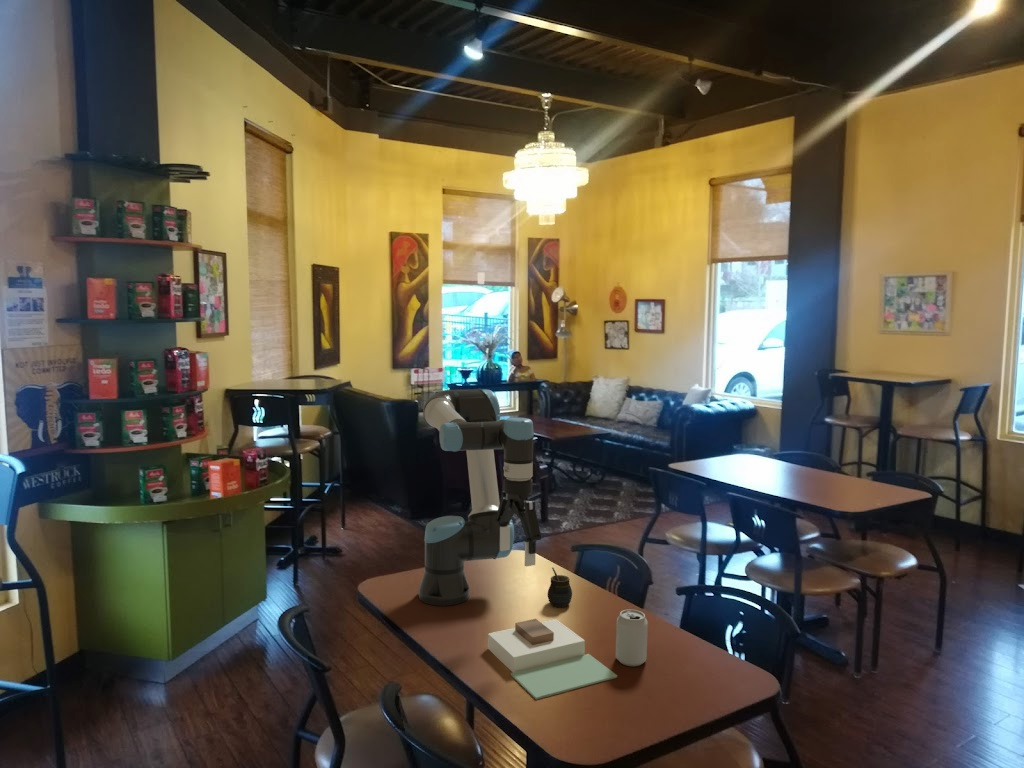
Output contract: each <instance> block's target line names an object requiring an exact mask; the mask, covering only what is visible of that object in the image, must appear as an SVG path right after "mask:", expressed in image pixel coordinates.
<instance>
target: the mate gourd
mask: <svg viewBox="0 0 1024 768" xmlns="http://www.w3.org/2000/svg"><path fill="white" fill-rule="evenodd" d="M551 569H552V571H553V574H554V575H553V576H551V577H550V586H549V588H548V589H547V599H548V602H549V603H550V605H551V606H552V607H555V608H565V607H567V606H568V605H570V603H571V602H572V601H571V600H572V598H573V597H572V596H573V589H572V587H571V584H570V581H571V580H570V579H571V578H570V577H569V576H566V575H563V574H557V572H556V570H555V568H554V567H551Z"/></svg>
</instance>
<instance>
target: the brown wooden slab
mask: <svg viewBox="0 0 1024 768" xmlns="http://www.w3.org/2000/svg"><path fill="white" fill-rule="evenodd" d="M541 622H542V621H539V620H538V619H537V618H533V619H528V620H524V621H519V622H515V626H514V628H515V631H516V632H518V633H519V634H520V635H521V636H522V637H523V638H525V639H526V640H527V641H528V642H529V643H531V644H532V645H536V644H540V643H544V642H549V641H553V640H554V632H552V631H551V630H550V629H548V628H547V627H546V626H545V625H543V624H542V623H541Z"/></svg>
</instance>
